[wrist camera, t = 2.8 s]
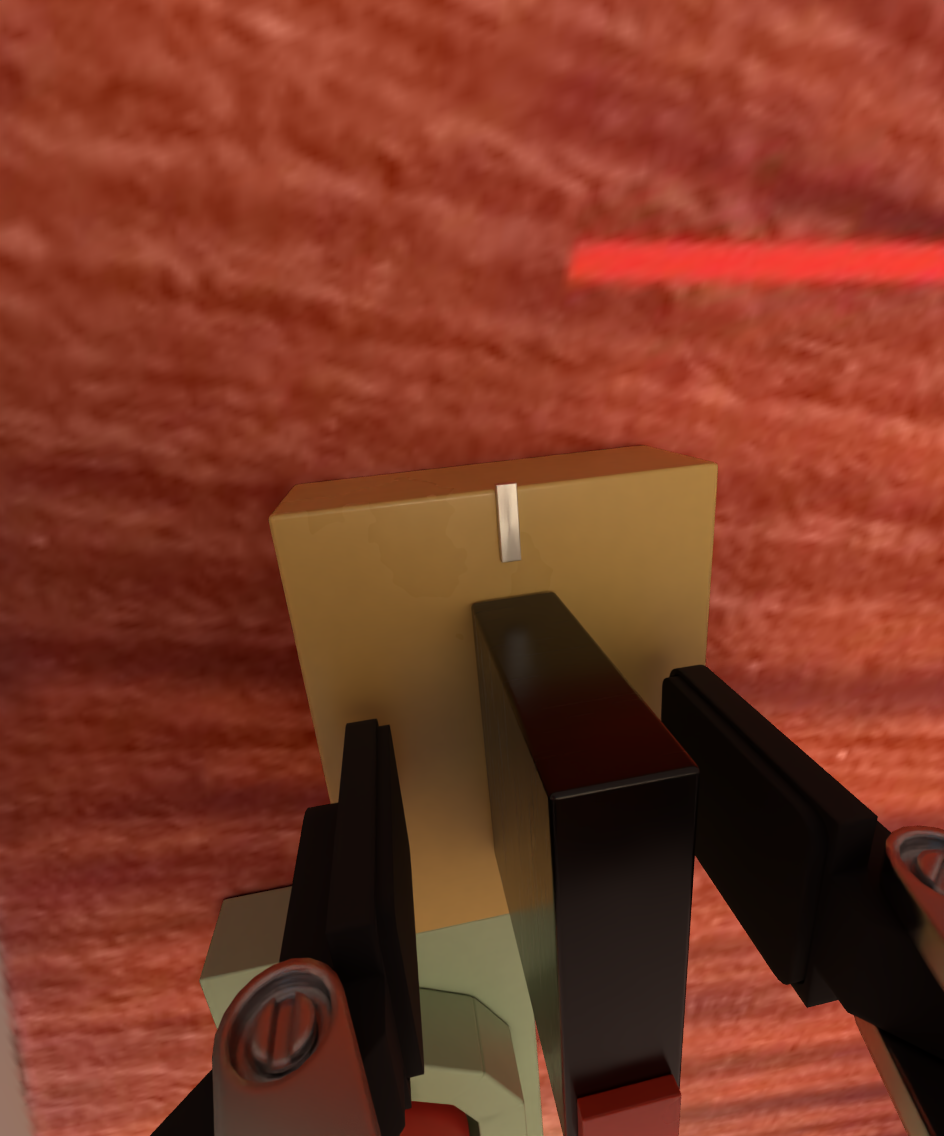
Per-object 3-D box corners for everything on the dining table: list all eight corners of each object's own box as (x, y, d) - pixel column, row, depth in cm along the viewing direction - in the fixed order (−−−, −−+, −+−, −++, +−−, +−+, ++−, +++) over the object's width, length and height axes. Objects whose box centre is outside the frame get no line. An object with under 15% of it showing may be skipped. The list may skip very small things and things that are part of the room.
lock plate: (292, 479, 12) (263, 512, 9) (645, 439, 13) (726, 457, 10) (365, 844, 15) (361, 957, 12) (638, 791, 16) (696, 884, 13)
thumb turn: (469, 602, 10) (557, 815, 5) (554, 589, 10) (717, 784, 5) (493, 853, 12) (572, 1179, 7) (564, 839, 12) (689, 1146, 7)
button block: (222, 898, 15) (170, 1071, 11) (508, 841, 16) (547, 983, 12) (294, 1118, 18) (272, 1306, 15) (526, 1060, 19) (562, 1222, 16)
